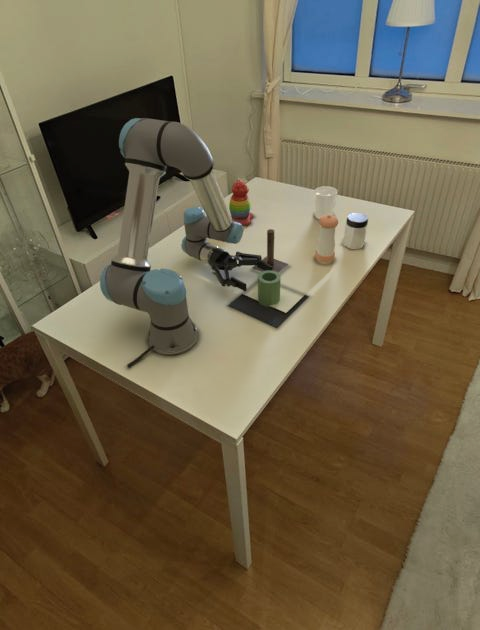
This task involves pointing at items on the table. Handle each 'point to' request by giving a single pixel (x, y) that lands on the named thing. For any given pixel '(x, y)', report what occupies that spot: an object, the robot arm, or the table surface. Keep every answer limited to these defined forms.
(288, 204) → the table surface
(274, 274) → the hollow cylinder
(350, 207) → the table surface
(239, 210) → the stacking bear
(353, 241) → the jar
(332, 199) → the candle holder
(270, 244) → the peg stand
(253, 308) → the placemat
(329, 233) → the pepper shaker
